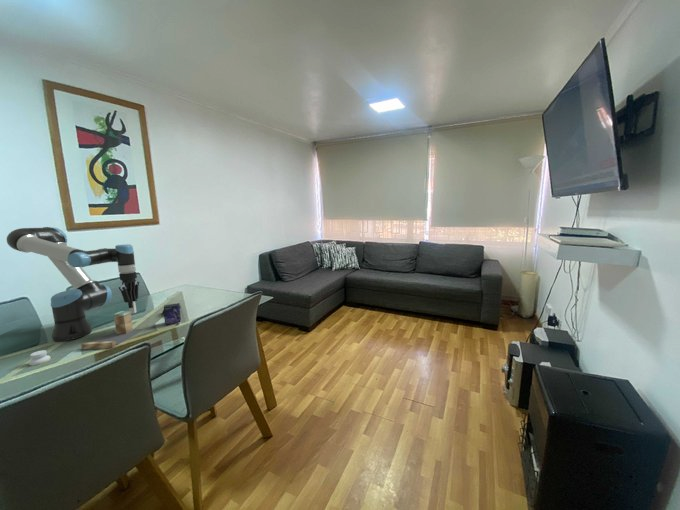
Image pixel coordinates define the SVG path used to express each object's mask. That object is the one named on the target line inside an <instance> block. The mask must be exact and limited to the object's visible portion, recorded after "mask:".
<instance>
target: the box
mask: <svg viewBox="0 0 680 510" xmlns="http://www.w3.org/2000/svg"><path fill="white" fill-rule="evenodd" d="M180 307H181V305H180V302H177V303H168V304H164V305H163V310H164V315H163V317H164V326H167V325H172V324H173V325H174V324H178V323H181V322H182V321H181V320H182V318H181V317H182V316H181V308H180Z"/></svg>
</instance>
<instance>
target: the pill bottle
mask: <svg viewBox="0 0 680 510" xmlns="http://www.w3.org/2000/svg"><path fill="white" fill-rule="evenodd" d="M47 353H48V352H47V350H45V349H44V350H43V349H42V350H38V351H35V352H32V353H31V354H30V355H29V356H30V360H29V361H28V366H32V367H34V366H39V365H42V364H45V363H47V362H49V361H51V360H52V357H51V356H50V355H48V354H47Z"/></svg>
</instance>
